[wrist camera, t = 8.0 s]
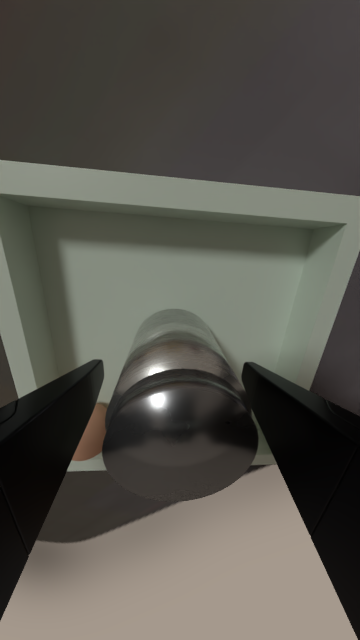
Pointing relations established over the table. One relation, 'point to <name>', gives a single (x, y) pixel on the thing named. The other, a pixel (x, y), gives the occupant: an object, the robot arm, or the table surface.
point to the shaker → (177, 414)
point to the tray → (166, 271)
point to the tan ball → (92, 435)
